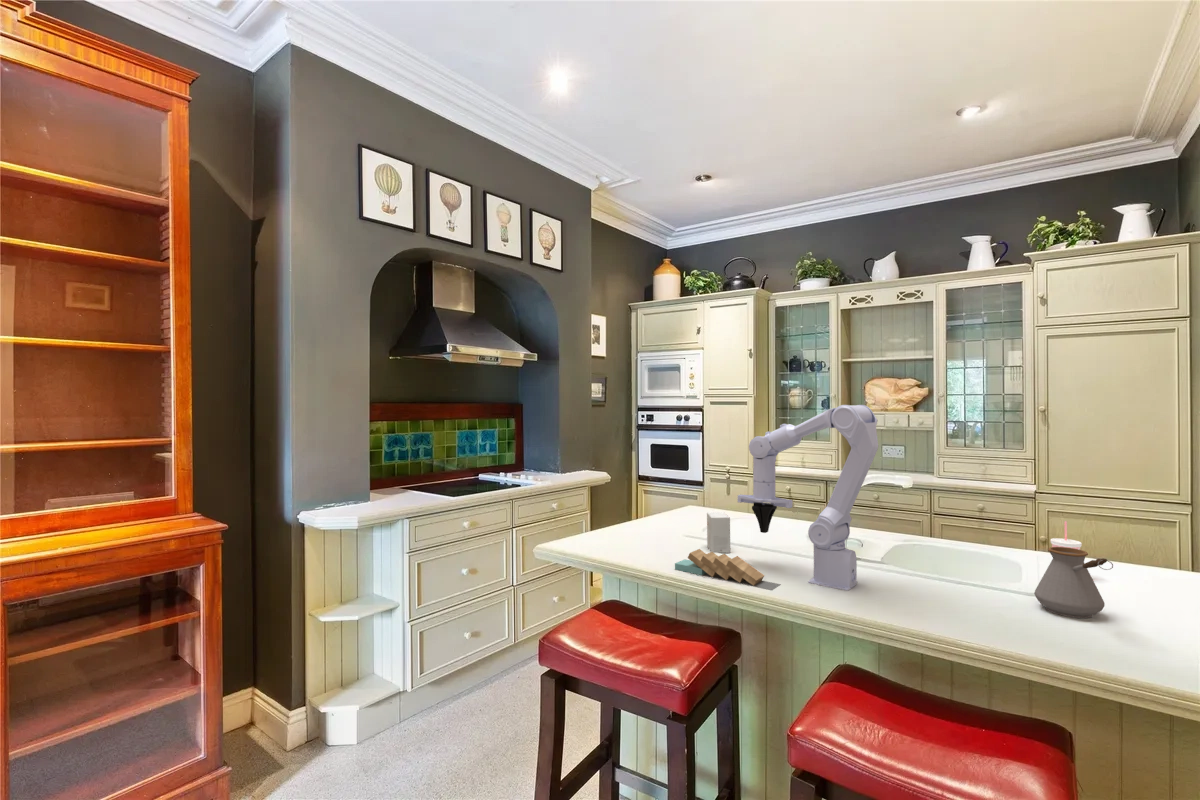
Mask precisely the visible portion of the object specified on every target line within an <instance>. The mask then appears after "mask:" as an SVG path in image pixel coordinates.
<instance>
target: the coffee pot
mask: <svg viewBox="0 0 1200 800" xmlns="http://www.w3.org/2000/svg"><path fill="white" fill-rule="evenodd" d="M1047 551H1048V552H1049V554H1050V555H1051V557H1052V559H1051V561H1050V562H1049V564H1048V566H1047V568H1046V570H1045V572H1044V573H1043V576H1042V577H1041V579H1040V581H1039V582H1038V585H1037V586H1036V588H1035V590H1034V596H1035V598H1036V600H1037V601H1038V603H1040V604H1041V605H1042V606H1044V608H1045V610H1047V611H1049V612H1051V613H1053V614H1056V615H1060V616H1063V617H1068V618H1075V619H1089V618H1093V616H1094V615H1097V614H1099V613H1100V612H1102V610H1103V609H1104V607H1105V605H1106V604H1105V600H1104V599H1103V597H1102V595H1101V593H1100V591H1099V589H1098V588H1097V586H1096V583H1095V581H1094V579H1093V577H1092V576H1091V573H1090V571H1089V570H1088V569H1090V568H1091V569H1092V568H1096V567H1099V568H1100V569H1101V570H1105V571H1108V570H1112V569H1113V568H1114V564H1113V563H1112V561H1110V560H1108V559H1107V558H1105V557H1104V558H1103V557H1102V558H1096V559H1092V560H1090V561H1087V562H1085V559H1086V557H1087V556H1088V555H1089V552H1087V551H1086V550H1082V549H1080V550H1079V549H1074V548H1066V547H1052V546H1051V547H1049V548H1048V549H1047ZM1107 562H1109V564H1110V565H1111V567H1110V568H1108V569H1106V568H1103V567H1102V566H1103V565H1104V564H1106V563H1107Z"/></svg>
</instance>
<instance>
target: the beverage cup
mask: <svg viewBox="0 0 1200 800" xmlns="http://www.w3.org/2000/svg"><path fill="white" fill-rule="evenodd" d="M1050 544H1051V547H1066V548H1074V549H1079V550H1081V547H1082V545H1083V543H1082V542H1081V541H1079V540H1075V539H1070V538H1068V521H1067V520H1064V538H1061V537H1060V538H1059V537H1058V538H1056V537H1053V538H1050Z"/></svg>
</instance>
